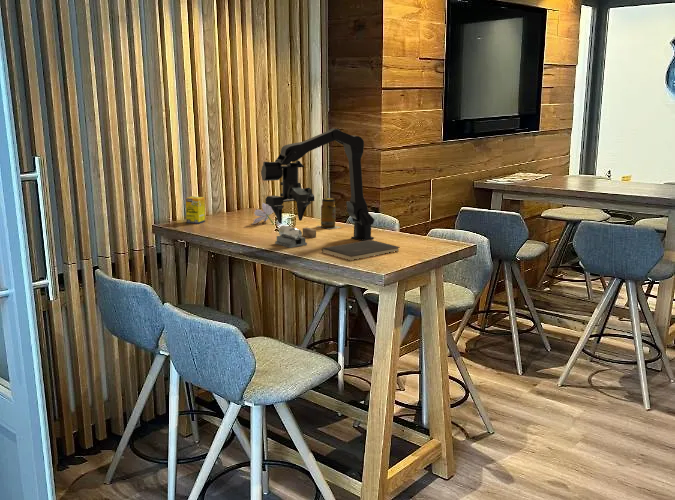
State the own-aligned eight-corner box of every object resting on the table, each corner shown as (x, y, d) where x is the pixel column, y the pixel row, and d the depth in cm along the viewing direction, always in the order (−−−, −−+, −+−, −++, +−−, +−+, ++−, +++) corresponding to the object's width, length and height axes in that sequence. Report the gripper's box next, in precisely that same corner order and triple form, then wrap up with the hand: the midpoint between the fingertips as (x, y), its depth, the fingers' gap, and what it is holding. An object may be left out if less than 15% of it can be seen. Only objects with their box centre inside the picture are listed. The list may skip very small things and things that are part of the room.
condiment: (329, 224, 292) (329, 197, 289) (342, 227, 286) (342, 199, 283) (316, 226, 288) (316, 198, 285) (328, 229, 281) (328, 201, 278)
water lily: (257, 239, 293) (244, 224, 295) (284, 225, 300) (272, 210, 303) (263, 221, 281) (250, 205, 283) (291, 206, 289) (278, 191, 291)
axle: (302, 238, 251) (301, 228, 250) (293, 241, 248) (292, 230, 247) (287, 234, 257) (286, 224, 256) (279, 237, 255) (278, 226, 254)
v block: (306, 244, 252) (306, 237, 252) (289, 247, 247) (289, 240, 246) (292, 240, 259) (292, 233, 258) (275, 243, 254) (275, 236, 253)
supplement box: (186, 223, 291) (185, 198, 289) (193, 220, 297) (192, 196, 294) (198, 224, 290) (197, 198, 287) (205, 221, 295) (204, 196, 293)
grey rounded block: (315, 237, 266) (316, 229, 265) (294, 240, 259) (294, 233, 258) (306, 234, 270) (306, 227, 269) (285, 238, 263) (285, 230, 263)
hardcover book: (399, 253, 243) (399, 246, 243) (351, 262, 229) (351, 255, 228) (369, 245, 255) (369, 239, 255) (321, 253, 241) (321, 247, 240)
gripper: (282, 184, 236) (283, 228, 239) (324, 180, 248) (323, 222, 251) (264, 180, 244) (264, 223, 247) (305, 177, 256) (305, 218, 259)
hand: (290, 221), depth 251 cm, fingers open, 9 cm apart
